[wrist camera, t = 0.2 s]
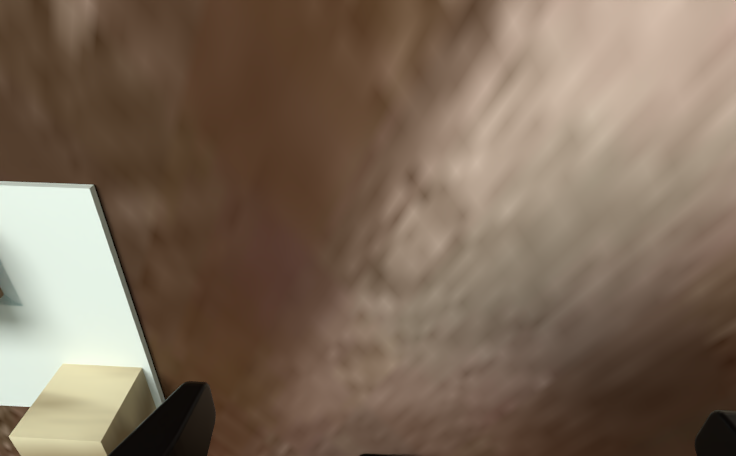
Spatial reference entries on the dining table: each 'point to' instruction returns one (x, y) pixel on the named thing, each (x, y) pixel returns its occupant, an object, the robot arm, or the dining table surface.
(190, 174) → the dining table surface
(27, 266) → the white board
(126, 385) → the maple cube
